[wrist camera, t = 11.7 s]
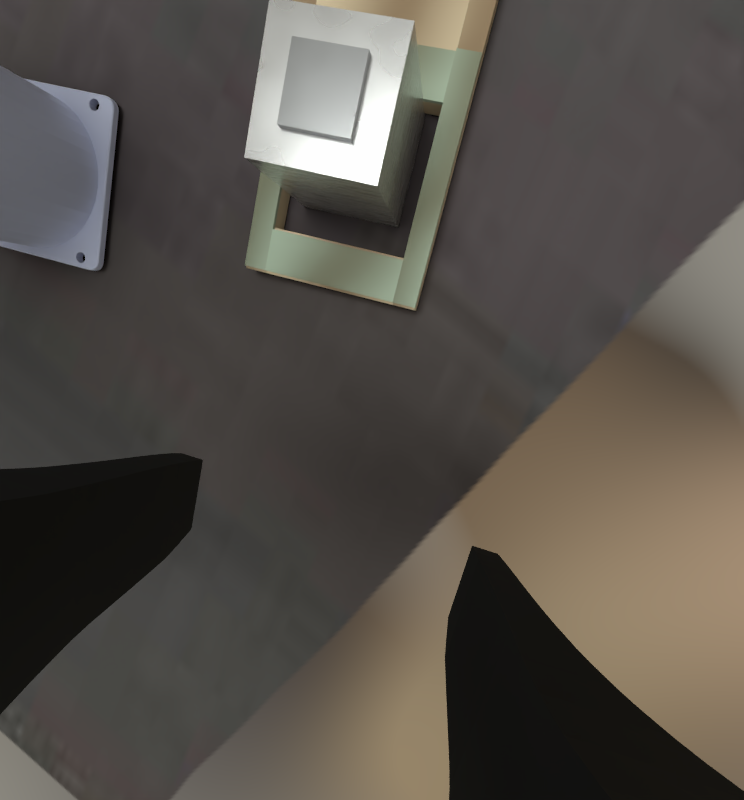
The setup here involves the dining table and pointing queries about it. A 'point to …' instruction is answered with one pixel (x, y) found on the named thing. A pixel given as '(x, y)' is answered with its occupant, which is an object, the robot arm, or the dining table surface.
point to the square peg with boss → (338, 109)
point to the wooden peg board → (450, 100)
